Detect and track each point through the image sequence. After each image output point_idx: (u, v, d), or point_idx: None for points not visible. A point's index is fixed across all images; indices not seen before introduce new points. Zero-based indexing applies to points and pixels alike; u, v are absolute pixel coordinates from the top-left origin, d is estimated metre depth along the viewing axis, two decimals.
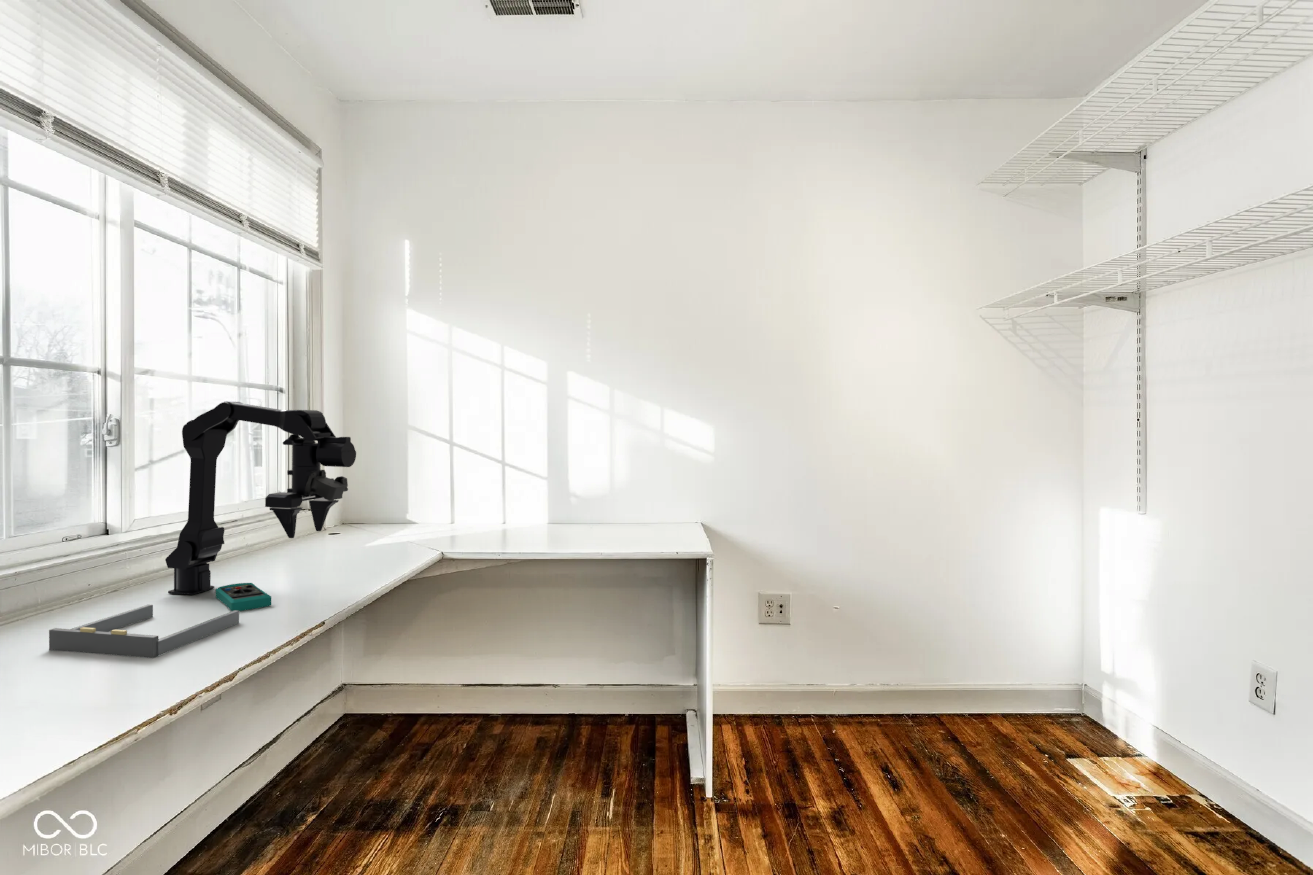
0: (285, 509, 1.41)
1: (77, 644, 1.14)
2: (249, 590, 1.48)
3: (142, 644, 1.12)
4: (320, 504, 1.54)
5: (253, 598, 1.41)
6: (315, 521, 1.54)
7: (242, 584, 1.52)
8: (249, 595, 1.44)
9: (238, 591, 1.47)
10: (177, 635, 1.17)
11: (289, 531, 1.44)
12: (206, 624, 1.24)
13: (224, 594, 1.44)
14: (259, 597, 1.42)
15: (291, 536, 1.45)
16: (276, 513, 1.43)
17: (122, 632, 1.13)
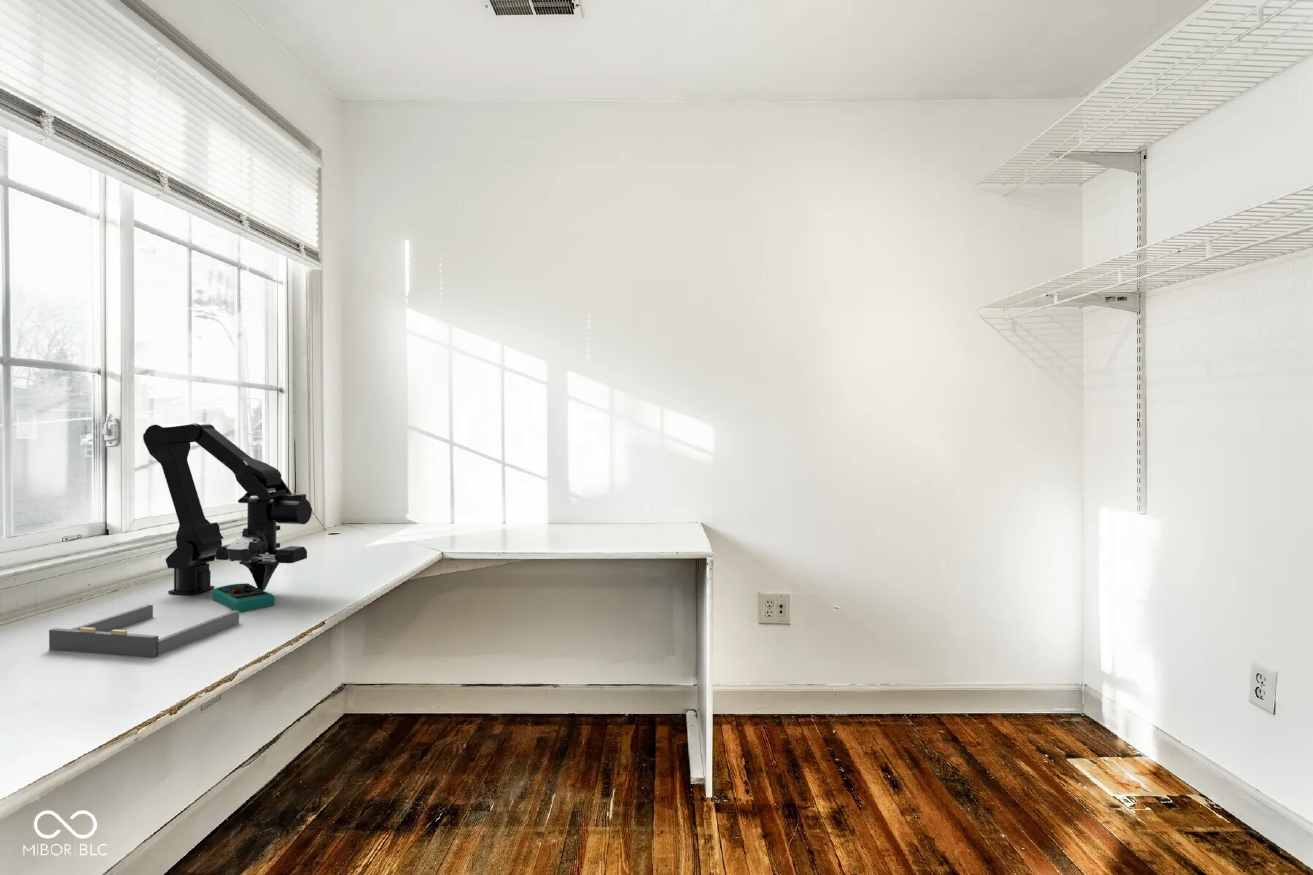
0: None
1: (77, 644, 1.14)
2: (248, 590, 1.48)
3: (142, 644, 1.12)
4: None
5: (257, 598, 1.41)
6: None
7: (239, 585, 1.51)
8: (251, 595, 1.44)
9: (237, 592, 1.47)
10: (177, 635, 1.17)
11: None
12: (206, 624, 1.24)
13: (224, 595, 1.43)
14: (263, 597, 1.42)
15: None
16: None
17: (122, 632, 1.13)
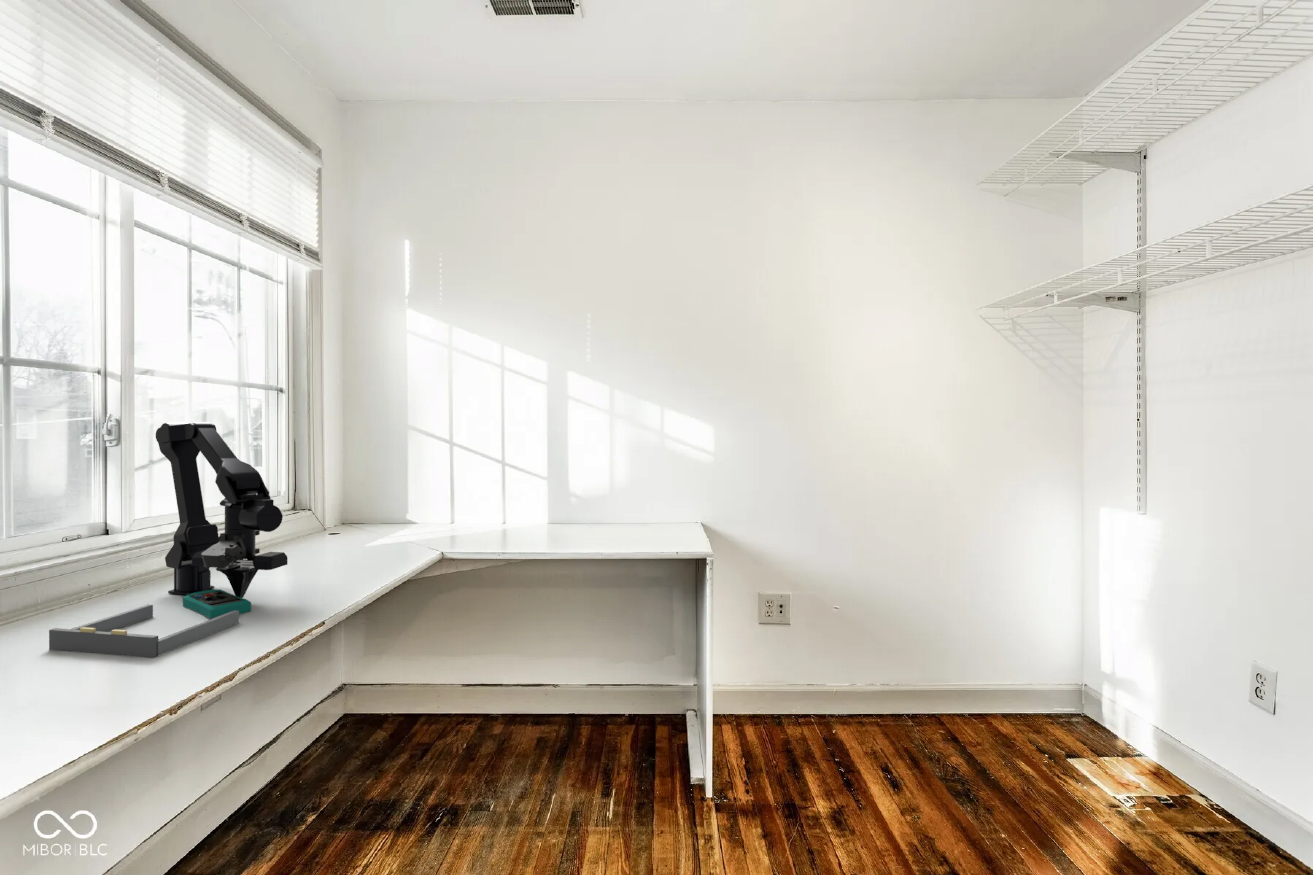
0: None
1: (77, 644, 1.14)
2: (222, 597, 1.42)
3: (142, 644, 1.12)
4: None
5: (233, 604, 1.36)
6: None
7: (210, 591, 1.45)
8: (226, 601, 1.39)
9: (210, 598, 1.41)
10: (177, 635, 1.17)
11: None
12: (206, 624, 1.24)
13: (196, 602, 1.38)
14: (239, 603, 1.37)
15: None
16: None
17: (122, 632, 1.13)
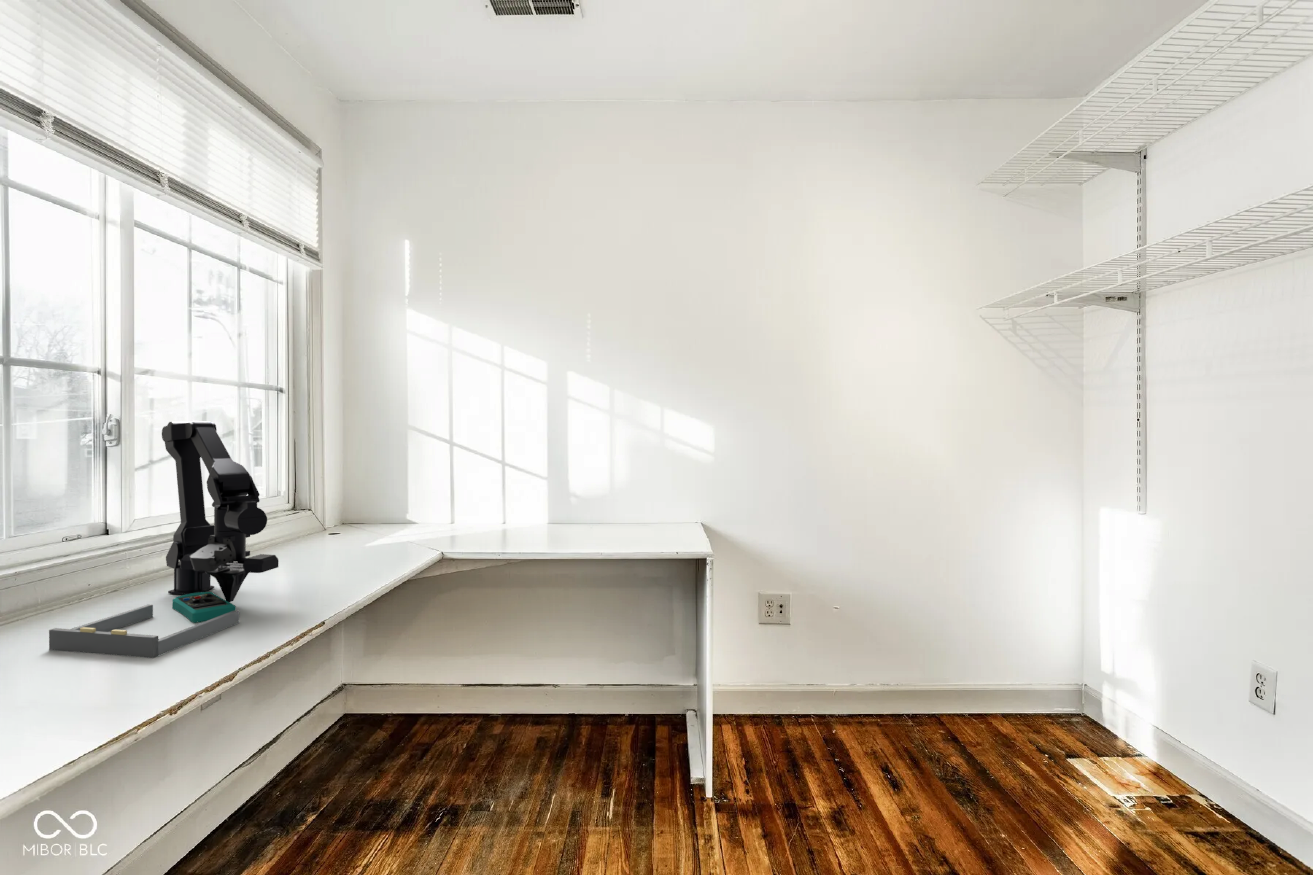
0: None
1: (77, 644, 1.14)
2: (210, 599, 1.40)
3: (142, 644, 1.12)
4: None
5: (216, 608, 1.34)
6: None
7: (201, 593, 1.44)
8: (211, 605, 1.36)
9: (198, 601, 1.39)
10: (177, 635, 1.17)
11: None
12: (206, 624, 1.24)
13: (182, 604, 1.36)
14: (222, 607, 1.35)
15: None
16: None
17: (122, 632, 1.13)
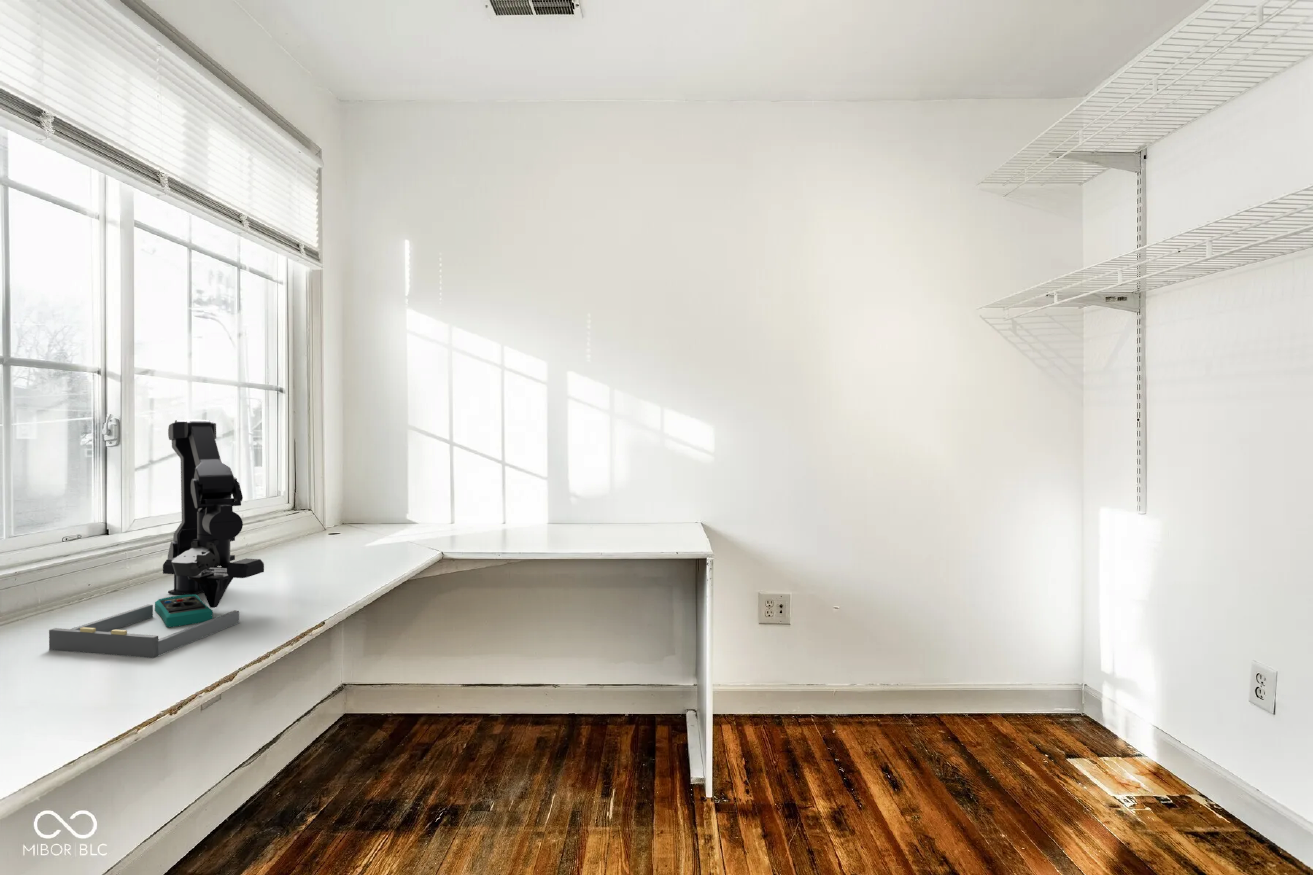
0: None
1: (77, 644, 1.14)
2: (191, 603, 1.37)
3: (142, 644, 1.12)
4: None
5: (192, 612, 1.30)
6: None
7: (185, 596, 1.41)
8: (189, 609, 1.33)
9: (179, 604, 1.37)
10: (177, 635, 1.17)
11: None
12: (206, 624, 1.24)
13: (162, 607, 1.33)
14: (199, 611, 1.31)
15: None
16: None
17: (122, 632, 1.13)
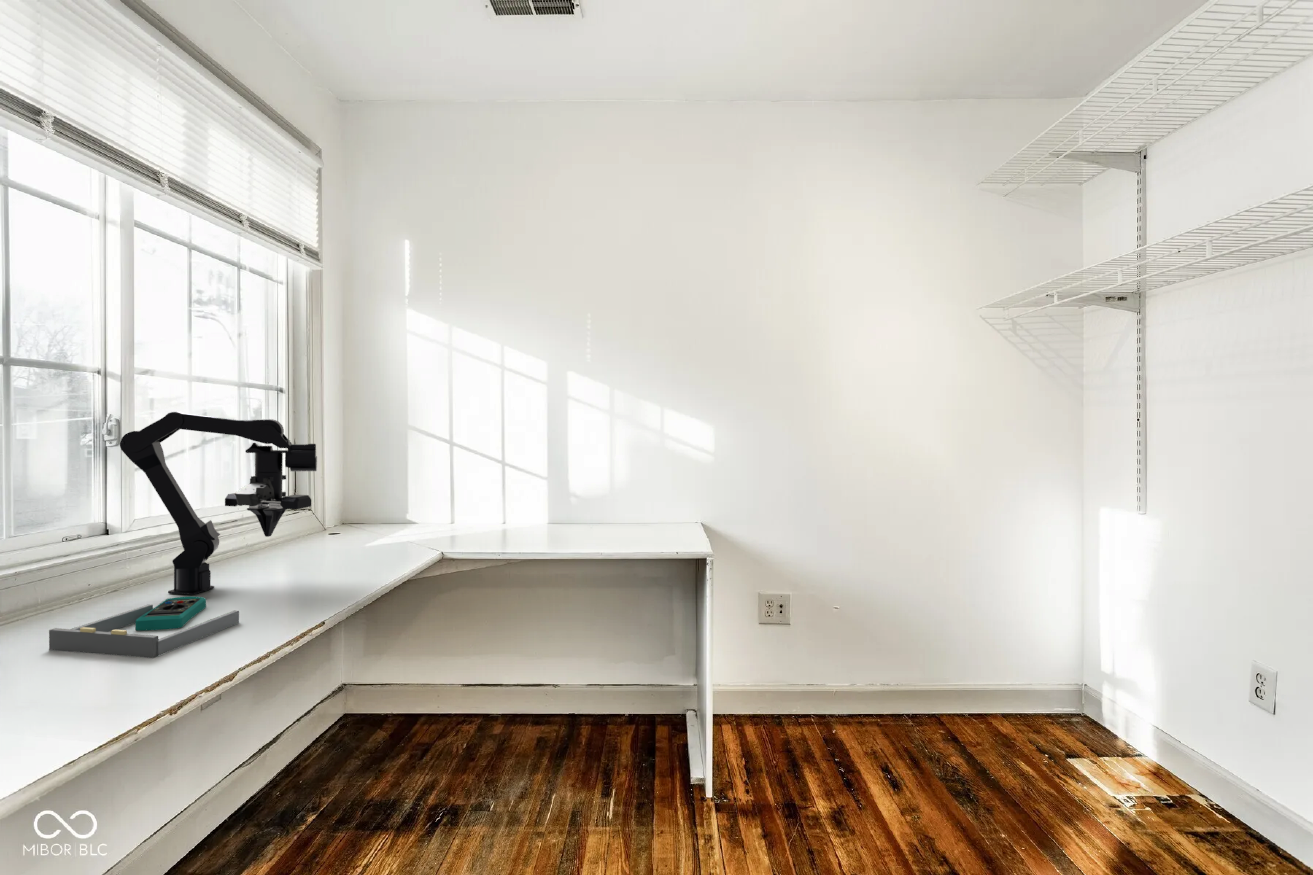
0: None
1: (77, 644, 1.14)
2: (184, 606, 1.35)
3: (142, 644, 1.12)
4: None
5: (159, 618, 1.27)
6: None
7: (192, 598, 1.40)
8: (168, 613, 1.30)
9: None
10: (177, 635, 1.17)
11: None
12: (206, 624, 1.24)
13: (154, 608, 1.33)
14: (167, 617, 1.27)
15: None
16: None
17: (122, 632, 1.13)
